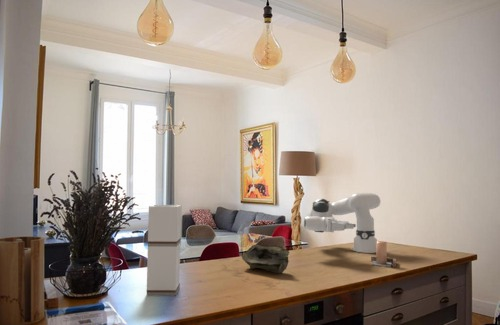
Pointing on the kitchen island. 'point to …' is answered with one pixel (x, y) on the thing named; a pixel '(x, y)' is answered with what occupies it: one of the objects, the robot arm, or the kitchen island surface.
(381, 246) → the terracotta jar
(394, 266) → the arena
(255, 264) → the hollow geode rock
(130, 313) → the kitchen island surface
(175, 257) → the white banded pillar
